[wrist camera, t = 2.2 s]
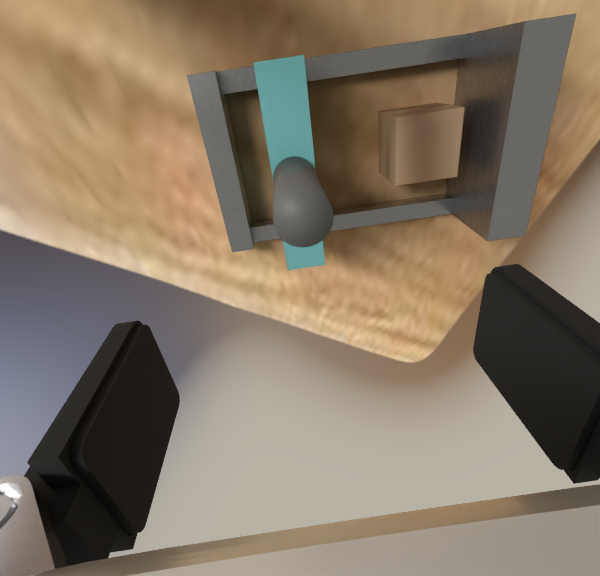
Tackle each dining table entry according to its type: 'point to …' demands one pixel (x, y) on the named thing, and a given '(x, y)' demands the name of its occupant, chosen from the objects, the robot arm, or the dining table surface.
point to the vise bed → (475, 132)
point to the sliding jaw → (293, 161)
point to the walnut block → (420, 143)
